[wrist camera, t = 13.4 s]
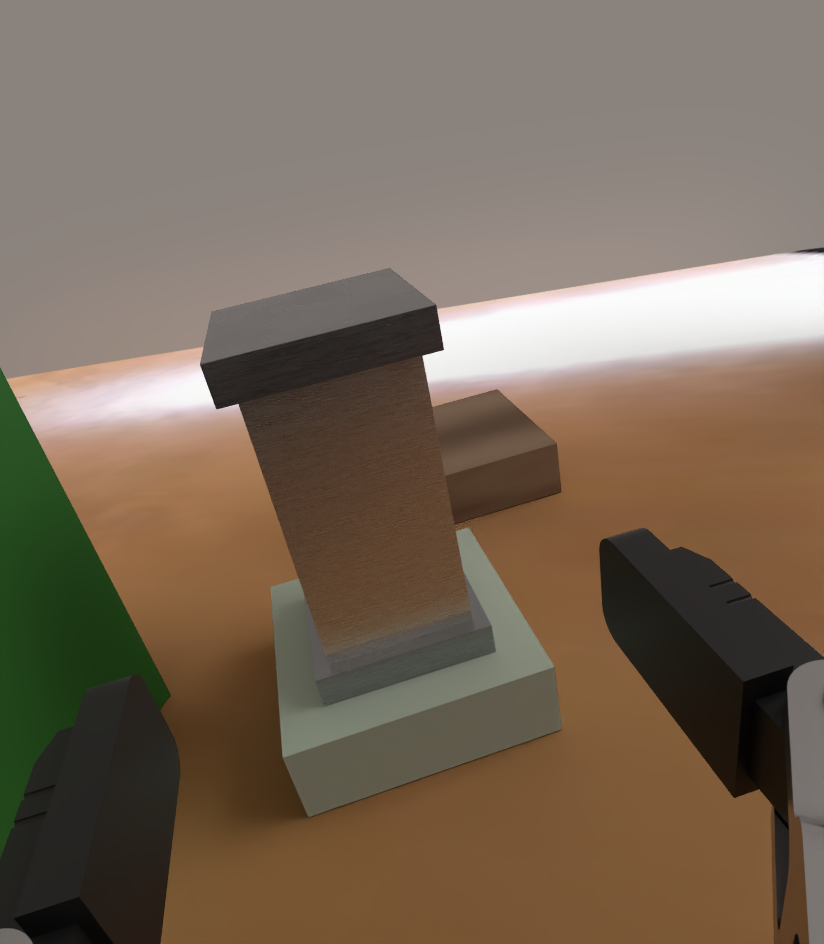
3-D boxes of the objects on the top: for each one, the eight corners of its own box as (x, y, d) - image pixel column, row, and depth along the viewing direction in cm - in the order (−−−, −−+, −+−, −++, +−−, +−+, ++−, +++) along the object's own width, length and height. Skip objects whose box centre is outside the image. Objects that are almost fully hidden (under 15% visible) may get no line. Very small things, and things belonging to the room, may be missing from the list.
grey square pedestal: (309, 597, 27) (211, 311, 21) (448, 556, 27) (389, 268, 22) (324, 706, 21) (200, 364, 16) (496, 651, 22) (436, 304, 16)
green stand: (289, 638, 29) (270, 587, 28) (477, 579, 30) (468, 527, 29) (308, 817, 21) (282, 757, 20) (561, 729, 22) (554, 667, 21)
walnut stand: (373, 467, 42) (363, 426, 41) (502, 430, 43) (497, 389, 42) (404, 538, 34) (392, 490, 33) (561, 491, 35) (556, 443, 34)
